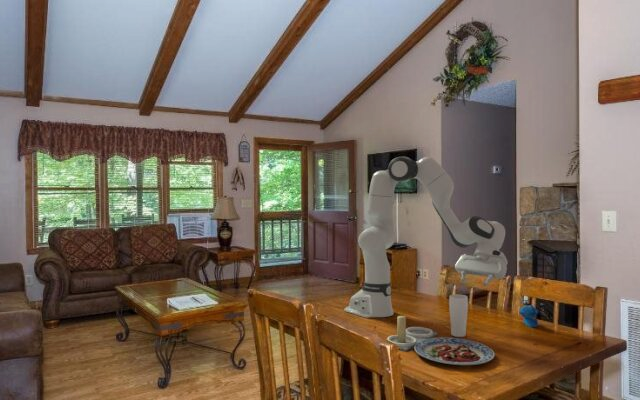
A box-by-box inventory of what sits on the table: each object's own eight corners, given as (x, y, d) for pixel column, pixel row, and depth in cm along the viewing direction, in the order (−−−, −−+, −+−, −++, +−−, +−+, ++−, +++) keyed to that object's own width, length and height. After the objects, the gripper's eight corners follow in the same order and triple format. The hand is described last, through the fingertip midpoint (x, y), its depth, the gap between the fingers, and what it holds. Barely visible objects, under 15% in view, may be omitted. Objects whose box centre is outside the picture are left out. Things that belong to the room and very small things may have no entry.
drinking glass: (468, 338, 173) (468, 298, 173) (449, 337, 175) (449, 297, 174) (466, 333, 180) (466, 294, 180) (448, 332, 181) (448, 293, 181)
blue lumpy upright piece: (529, 304, 197) (546, 304, 185) (531, 325, 195) (549, 327, 184) (512, 305, 196) (529, 305, 184) (515, 326, 194) (532, 328, 183)
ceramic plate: (489, 346, 166) (489, 338, 166) (500, 374, 141) (500, 364, 141) (415, 341, 172) (415, 333, 172) (413, 367, 147) (413, 357, 147)
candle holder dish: (381, 345, 167) (381, 317, 166) (414, 329, 185) (414, 305, 185) (406, 351, 160) (406, 322, 160) (437, 334, 179) (437, 309, 178)
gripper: (459, 248, 198) (447, 274, 191) (507, 253, 184) (496, 281, 177) (464, 258, 201) (452, 283, 195) (511, 263, 187) (501, 291, 180)
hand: (473, 282), depth 186 cm, fingers open, 8 cm apart
